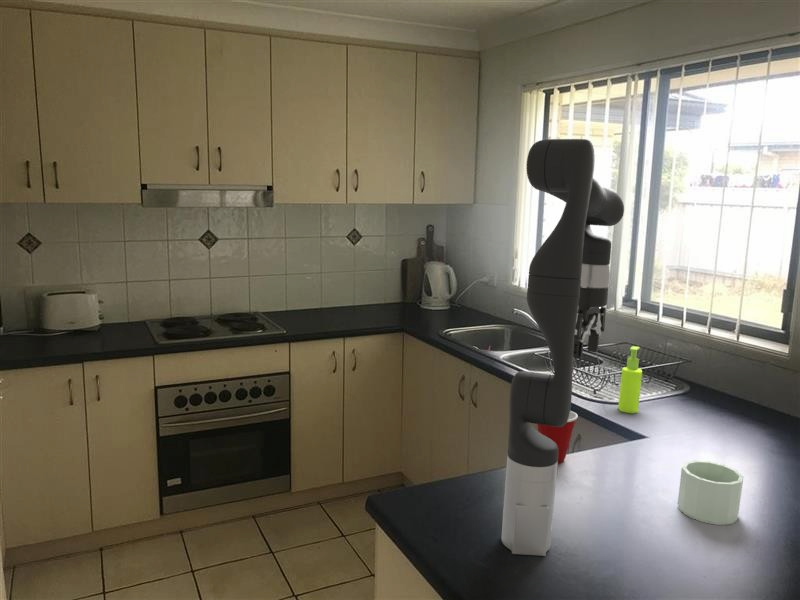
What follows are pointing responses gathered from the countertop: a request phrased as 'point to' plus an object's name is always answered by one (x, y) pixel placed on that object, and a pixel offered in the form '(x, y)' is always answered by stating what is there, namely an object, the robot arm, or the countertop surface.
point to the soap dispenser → (630, 384)
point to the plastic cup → (560, 435)
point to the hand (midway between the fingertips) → (584, 354)
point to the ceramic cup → (710, 492)
